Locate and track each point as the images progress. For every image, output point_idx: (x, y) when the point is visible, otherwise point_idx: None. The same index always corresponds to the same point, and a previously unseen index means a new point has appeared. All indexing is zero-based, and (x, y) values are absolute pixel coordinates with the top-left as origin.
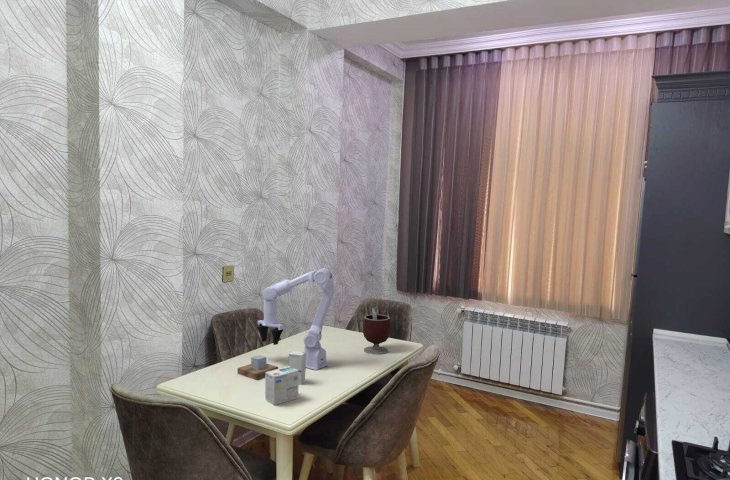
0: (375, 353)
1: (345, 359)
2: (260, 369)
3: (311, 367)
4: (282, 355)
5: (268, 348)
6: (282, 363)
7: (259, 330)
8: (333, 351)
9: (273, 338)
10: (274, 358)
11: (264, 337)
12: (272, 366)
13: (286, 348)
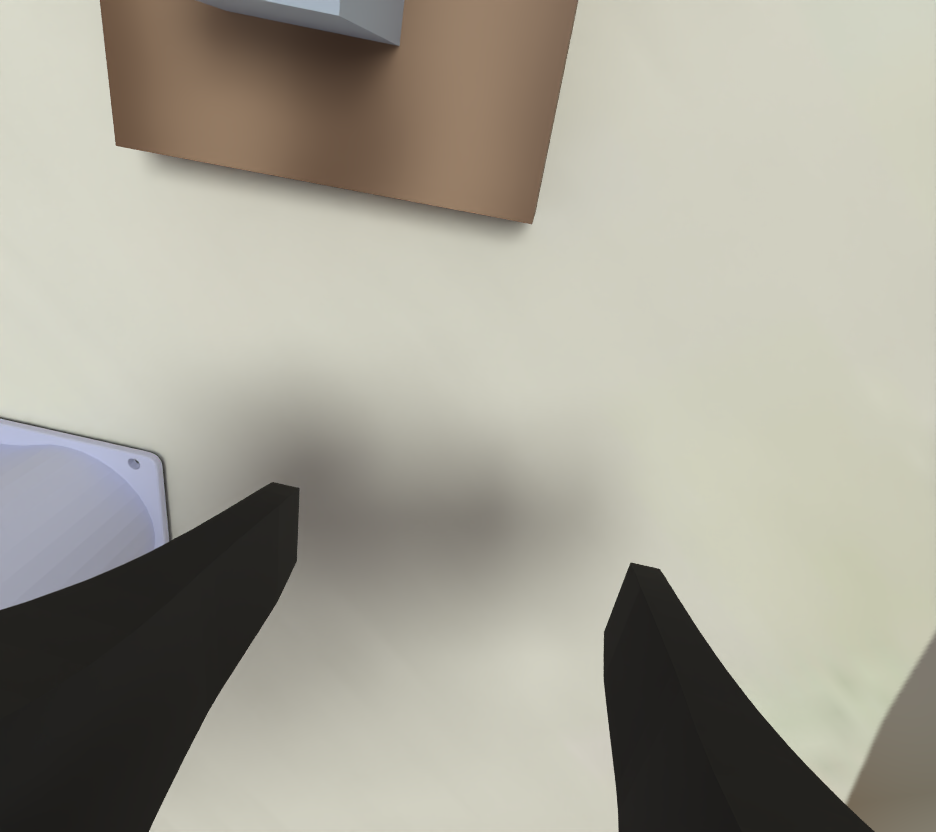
0: None
1: None
2: None
3: (9, 438)
4: (540, 644)
5: (813, 764)
6: (368, 446)
7: (808, 819)
8: (242, 823)
9: (197, 558)
10: (557, 544)
11: (629, 668)
12: (191, 111)
13: None
